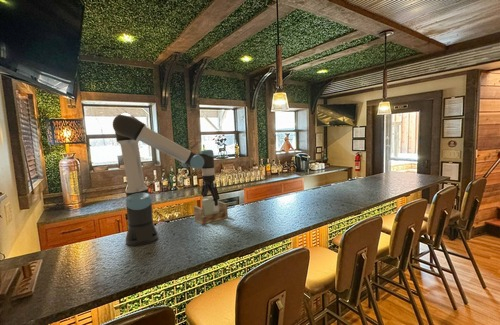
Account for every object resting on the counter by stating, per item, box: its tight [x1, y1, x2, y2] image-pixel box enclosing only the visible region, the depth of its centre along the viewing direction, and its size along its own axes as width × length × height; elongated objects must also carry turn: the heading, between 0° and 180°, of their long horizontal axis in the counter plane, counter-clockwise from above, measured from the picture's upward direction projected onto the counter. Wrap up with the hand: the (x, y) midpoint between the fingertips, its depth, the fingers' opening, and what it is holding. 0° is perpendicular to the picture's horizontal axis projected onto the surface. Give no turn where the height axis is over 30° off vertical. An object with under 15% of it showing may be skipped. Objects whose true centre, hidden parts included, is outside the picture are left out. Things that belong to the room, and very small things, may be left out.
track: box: [193, 200, 229, 225], centre depth 156 cm, size 18×10×9 cm, turn 126°
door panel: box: [201, 197, 220, 216], centre depth 156 cm, size 10×4×12 cm, turn 126°
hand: (210, 208), depth 156 cm, fingers open, 13 cm apart
